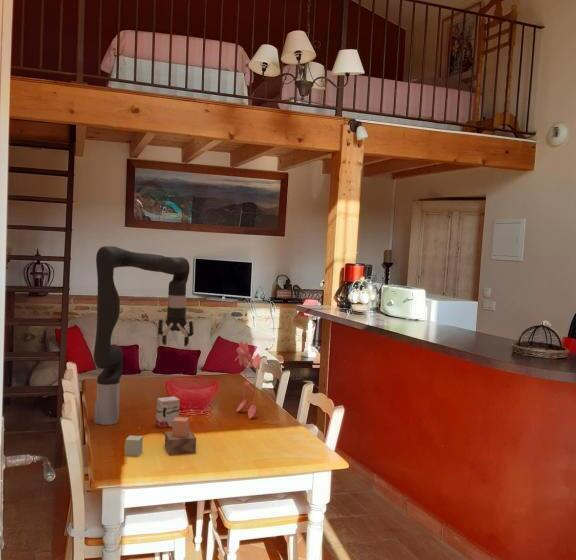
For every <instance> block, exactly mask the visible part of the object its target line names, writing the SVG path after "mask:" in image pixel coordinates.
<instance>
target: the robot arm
mask: <svg viewBox="0 0 576 560" xmlns="http://www.w3.org/2000/svg"><path fill="white" fill-rule="evenodd" d="M95 262H96V263H95V264H96V265H95V266H96V275H97V297H96V298H97V301H96V332H95V334H96V335H95V343H94V350H93V361H94V363H95V365H96V366H97V368H99V369H103V370H102V371H101V373H100V374H98V375H97V377H96V400H95V401H94V419H93V420H94V424H98V425H101V426H106V425H107V426H111V425H115V424H118V423H119V418H120V416H119V413H120V412H119V411H120V381H121V380H120V379H121V376H122V374H123V363H124V359H123V358H124V355H123V351H122V348H121V347H120V346H119V345H117V344H112V341H111V340H112V335H113V332H114V329H115V327H116V324H118V323H117V322H118V321H119V318H120V313H121V311H120V309H121V307H120V306H121V305H120V304H121V300H120V296H119V293H118V292H119V291H118V290H117V288H116V285H115V281H114V271H115V270H114V269H117V268H124V267H125V268H126V267H131V268H136V269H140V270H143V271H150V272H155V273H164V274H167V275H172V280H170V281H169V283H168V290H167V291H168V295H167V304H166V305H167V306H166V307H167V308H166V310H167V311H166V319H162V318H161V319H159V321H158V327H157V334H158V335H161V339H162V340H161V342H162V344H163V346H166V345H167V344H168V343H167V341H168V339H167V338H168V337H167V335H168V333H169V332H170V331H173V332H175V331H176V332H181V333H182V334H183V335H184V340H183V342H184V345H183V346H184V347H187V346H189V341H190V340H189V339H190V337H191V336H194V321H193V320H187V319H186V317H187V316H186V315H187V312H186V311H187V298H186V297H187V296H186V294H187V282H188V280H189V275H190V263H189V261H188V259H187V258H185V257H179V256H178V257H173V256H164V255H161V254H154V253H145V252H144V253H141V252H133V251H130V250H127V249H124V248H121V247H117V246H114V245H113V246H111V245H108V246H107V245H106V246H102V247H100V248H98V250H97V252H96V256H95ZM165 324H166V326H167V327H166V328H165V330H164V331H163V328H164V325H165ZM186 325H187V326H188V327H189V328H188V329H189V330H188V331H189V332H188V331H187V328H186V327H185V326H186Z"/></svg>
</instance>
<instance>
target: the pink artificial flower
mask: <svg viewBox="0 0 576 560" xmlns="http://www.w3.org/2000/svg"><path fill="white" fill-rule="evenodd" d="M238 345H239V346H238V347H237V348H236V353H237V354H238V355H237V357H236V358H235V359H234V360H233V362H235V361H237V360H238V361H239V362H238V363H239V366H241V367H242V366H243V367H244V368H245V369H244V370H243V371H244V378H245V382H244V386H243V396H246V395H245V394H246V393H245V390H246V389H245V388H249V389H251V390H252V391H253V392H254V393H255V394H254V399H253V403H252V405H250V407H248V405H247V400H246V399H243V401H241V403H240V404H239V405H238V407H237V408H236V411H235V412H236V413H238V412H239V411H240V410H242V409H244V406H245V409H246V410H247V415H248V418H249V420H251V419H252V418H253V417H254V416H255V415H256V417H257V419H258V418H259V415H258V412H257V406H256V404H255V403H256V402H255V401H256V397H257V391H256V390H254V389H253V388H252V387H251V382H250V381H248V379H247V374H246V373H247V370H249V369H251V368H252V367H253V368H255V369H258V370H260V363H261V359H262V357H261V355H260V354H259V353H257V354H256V355H255V356H254V358H253V359H252V356H251V355H252V354H250V352H249V351H250V350H249V343H248V341H245V342H244V341H243V340H240V341H239V343H238ZM250 363H251V364H250ZM227 419H228V420H229V418H227V417H226V420H227ZM231 421H233V422H237V423H239V421H237V420H233V419H231Z"/></svg>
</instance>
